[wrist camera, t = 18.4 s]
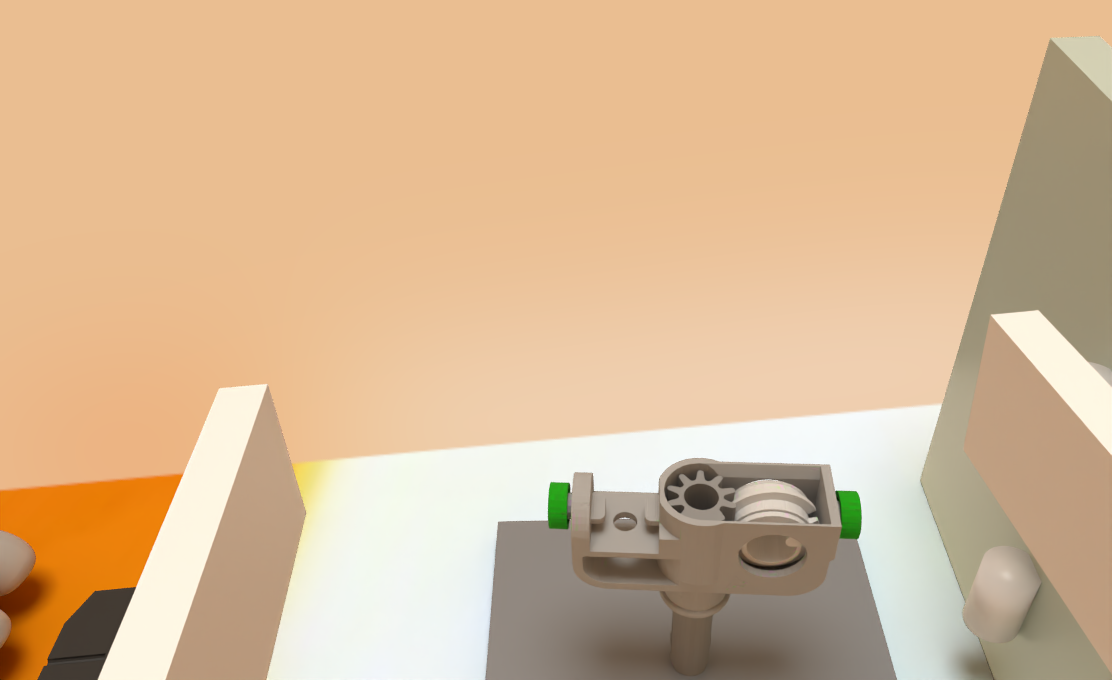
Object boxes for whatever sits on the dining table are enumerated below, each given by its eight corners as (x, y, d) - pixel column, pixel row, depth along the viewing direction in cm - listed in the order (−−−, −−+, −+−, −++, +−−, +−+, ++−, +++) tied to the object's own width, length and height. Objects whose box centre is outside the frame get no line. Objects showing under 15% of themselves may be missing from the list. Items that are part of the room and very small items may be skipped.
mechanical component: (564, 620, 39) (552, 453, 33) (815, 631, 38) (853, 461, 32) (558, 686, 37) (544, 520, 31) (825, 699, 36) (868, 530, 30)
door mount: (469, 951, 31) (335, 527, 17) (504, 489, 46) (448, 63, 32) (1146, 951, 30) (1600, 501, 16) (953, 479, 45) (1099, 35, 31)
